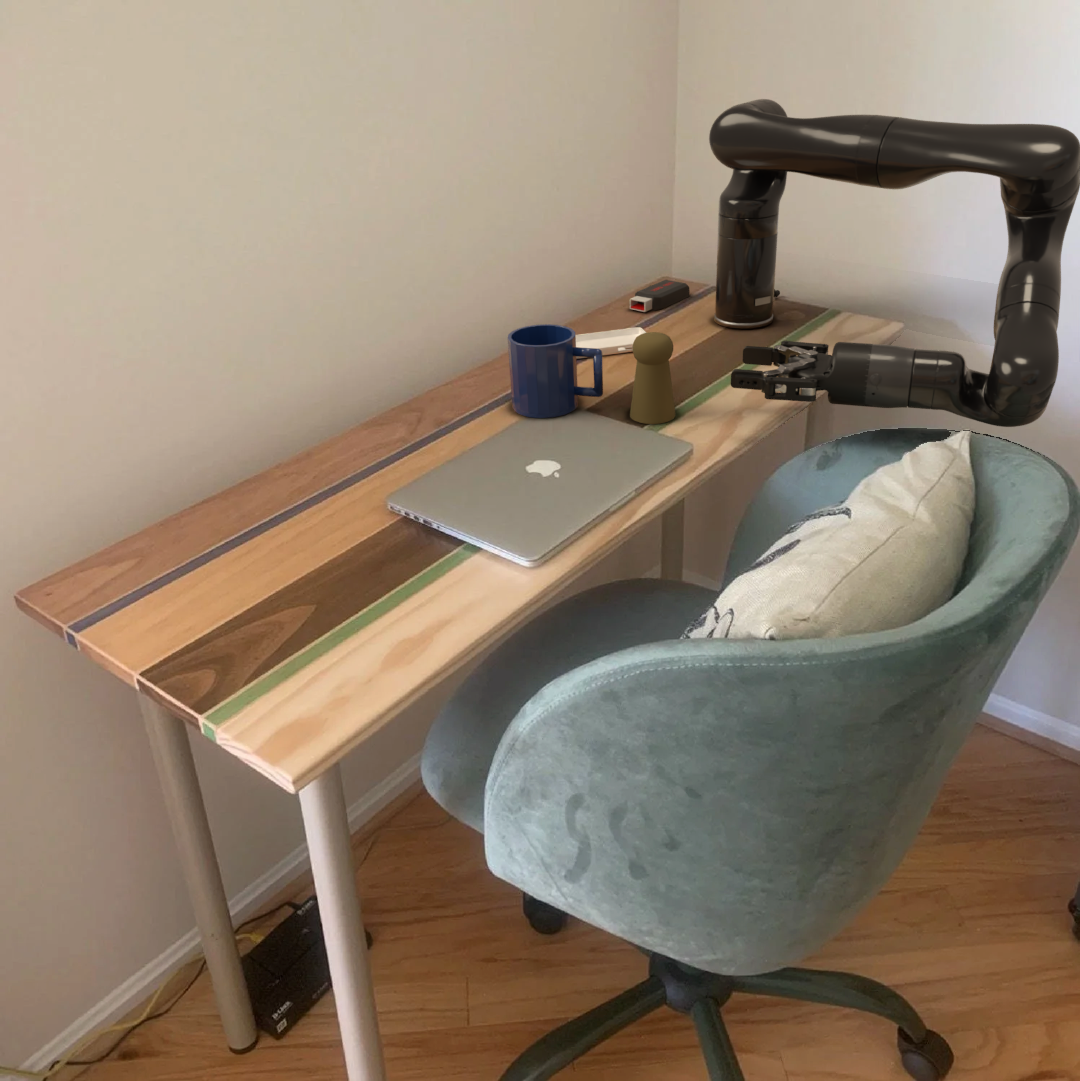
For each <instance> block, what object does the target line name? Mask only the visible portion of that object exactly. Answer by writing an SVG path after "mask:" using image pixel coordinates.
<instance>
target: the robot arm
mask: <svg viewBox="0 0 1080 1081" xmlns="http://www.w3.org/2000/svg"><path fill="white" fill-rule="evenodd" d="M708 143H709V147H710V150H711V152H712V154H713V156H714V157H715V158H716V159H717V160H718V162H720V163H721V164H722V165H723V166H725V167H726V168H729V169H731V170H732V174H731V177H730V180H729V182H728V184H727V186H725V188H724V190H722V192H721V193H720V194H719V199H718V216H717V245H716V246H717V249H716V278H715V304H714V305H715V306H714V307H715V308H714V318H713V320H714V322H715V323H716V324H717V325H720V326H722V327H725V328H731V329H739V330H741V329H743V330H745V329H758V328H763V327H766V326H769V325H770V324H772V323H773V321H774V299H775V298H778V297H779V296H780V295H781V290H779V289H775V282H776V268H777V250H778V234H779V215H780V204H781V201H782V198H783V195H784V193H785V191H786V186H787V179H788V178H787V177H788V173H796V174H801V175H806V176H811V177H814V178H820V179H825V180H830V181H835V182H842V183H847V184H853V185H857V186H861V187H862V186H865V187H870V188H871V187H872V188H878V189H885V190H903V189H908V188H911V187H914V186H918V185H920V184H922V183H923V184H924V183H925V182H927V181H930V180H932V179H935V178H937V177H940V176H943V175H945V174H946V175H947V174H950V173H974V174H982V175H989V176H992V177H998V178H999V188H1000V198H1001V201H1002V204H1003V208H1004V215H1005V222H1006V229H1007V230H1006V231H1007V237H1008V238H1007V240H1008V241H1007V242H1008V243H1007V244H1008V245H1007V255H1006V259H1005V263H1004V265H1003V269H1002V271H1001V274H1000V277H999V282H998V287H997V292H996V299H995V307H994V315H993V316H994V317H993V327H992V328H993V338H994V345H993V346H994V347H993V353H992V358H991V363H990V368H989V372H988V373H985V372H982V371H978V370H974V369H971V368H969V367H968V365H967V361H966V359H965V357H964V355H963V354H961V353H960V352H957V351H952V350H945V349H929V348H928V349H927V348H913V347H907V346H902V345H896V344H884V343H883V344H881V343H866V342H865V343H864V342H849V341H838V342H836V343H835V344H834V346H833V349H832V353H831V354H829V344H827V343H818V342H817V343H816V342H804V341H791V340H782V341H781V342H780V344H777V345H774V346H773V347H772V346H771V347H770V346H755V345H753V346H752V345H746V346H744V348H743V350H742V363H743V364H744V365H754V366H755V365H756V366H766V367H767V366H769V367H771V366H772V365H773V366H774V367H777V368H775V369H770V370H765V371H763V370H756V369H755V370H753V369H742V368H741V369H740V368H734V369H732V371H731V373H730V386H731V388H733V389H743V390H756V391H761V393H762V394H764V399H765V400H775V401H790V402H791V401H792V402H807V403H808V402H809V403H811V402H815V401H816V400H817V391H825V392H827V401H828V402H829V404H831V405H841V406H855V407H867V408H880V409H898V408H899V409H900V408H904V409H906V408H909V409H921V410H934V411H946V412H949V413H951V414H955V415H956V416H959V417H963V418H967V419H969V420H972V421H976V422H979V423H983V424H986V425H991V426H996V427H1002V428H1015V427H1023V426H1026V425H1029V424H1032V423H1034V422H1035V421H1037V420H1038V419H1040V418H1041V417H1042V415H1043V414H1044V413H1045V411H1046V410H1047V407H1048V404H1049V401H1050V398H1051V396H1052V393H1053V390H1054V387H1055V385H1056V382H1057V379H1058V372H1059V361H1060V350H1059V338H1058V332H1057V331H1058V328H1059V327H1058V326H1059V319H1060V308H1061V295H1062V294H1061V293H1062V266H1061V265H1062V250H1063V245H1064V240H1065V236H1066V232H1067V228H1068V225H1069V223H1070V220H1071V216H1072V213H1073V211H1074V207H1075V204H1076V201H1077V199H1078V198H1077V197H1078V195H1079V193H1080V192H1079V191H1080V140H1079V138H1078V137H1077V136H1076V134H1075V133H1074V132H1072V131H1071V130H1069V129H1067V128H1064V127H1061V126H1057V125H1052V124H1043V123H1041V124H1040V123H965V122H964V123H963V122H962V123H961V122H949V121H936V120H935V121H933V120H923V119H914V118H907V117H901V116H893V115H882V114H844V115H843V114H841V115H828V116H819V117H803V118H802V117H791V116H788V115H787V112H786V111H785V109H784V107H783V106H782V105H781V104H780V103H778V102H777V101H775V100H772V99H769V98H759V99H754V100H751V101H746V102H743V103H739V104H735V105H732V106H731V107H729V108H727V109H726V110H724V111H723V112H722V113H720V114H719V115H718V116H717V117H716V118H715V119H714V122H713V123H712V125H711V127H710V130H709V133H708Z"/></svg>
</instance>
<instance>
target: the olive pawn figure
mask: <svg viewBox="0 0 1080 1081" xmlns="http://www.w3.org/2000/svg"><path fill="white" fill-rule="evenodd" d="M632 349H633V352H632V354H633V358H635V360H636V365H635V373H634V380H633V386H632V387H633V388H632V396H631V403H630V410H629V417H630V419H631V420H633V421H634V422H637V423H640V424H646V425H657V424H660V425H661V424H664V423H668V422H671V421H672V420H674V418H675V417H676V414H677V413H676V408H675V399H674V390H673V384H672V383H673V382H672V375H671V367H670V366H671V365H670V359H671V358H672V355H673V352H674V343H673V340H672V338H671V337H670V336H669V335H668V334H666V333H663V332H657V331H649V332H646V333H643V334H641V335H639V336H637V337H636V339H635V340H634V342H633V347H632Z"/></svg>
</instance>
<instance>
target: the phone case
mask: <svg viewBox="0 0 1080 1081" xmlns="http://www.w3.org/2000/svg"><path fill="white" fill-rule="evenodd" d="M643 333H647V331H646V330H644V328H642V327H640V326H638V327H637V326H636V327H635V326H633V327H628V328H619V329H612V330H604V331H595V332H588V333H580V334H576V347H581V348H595V349H600V350H601V351H602V356H609V355H617V354H624V353H633V342H634V340H635V339H636V337H637V336H639V335H641V334H643ZM586 358H588V357H577V356H576V359H577V360H579V359H586Z"/></svg>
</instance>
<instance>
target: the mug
mask: <svg viewBox="0 0 1080 1081" xmlns="http://www.w3.org/2000/svg"><path fill="white" fill-rule="evenodd" d="M576 335H577V333H576V331H575V330H574V329H573V328H571V327H568V326H566V325H561V324H553V323H552V324H551V323H548V324H547V323H545V324H544V323H543V324H542V323H541V324H532V325H525V326H522V327H519V328H517V329H514V330H512V331H511V332H510V333H508V335H507V350H508V364H509V379H510V380H509V381H510V393H511V405H512V410H513V411H514V412H515V413H516V414H518V415H520V416H523V417H526V418H533V419H549V418H550V419H551V418H557V417H561V416H565V415H568V414H570V413H572V412H574V411H575V410H576V409H577V408H578V405H579V396H580V397H592V398H593V397H594V398H601V397H602V396H603V395H604V375H603V373H604V370H603V368H604V367H603V355H602V351H601V350H600V349H595V348H581V347H576ZM576 356H577V357H587V358H590V359H591V358H592V362H593V364H592V367H593V369H592V370H593V386H592V387H590V386H579V385H578V364H577V363H578V362H577V360H578V359H576Z"/></svg>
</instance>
